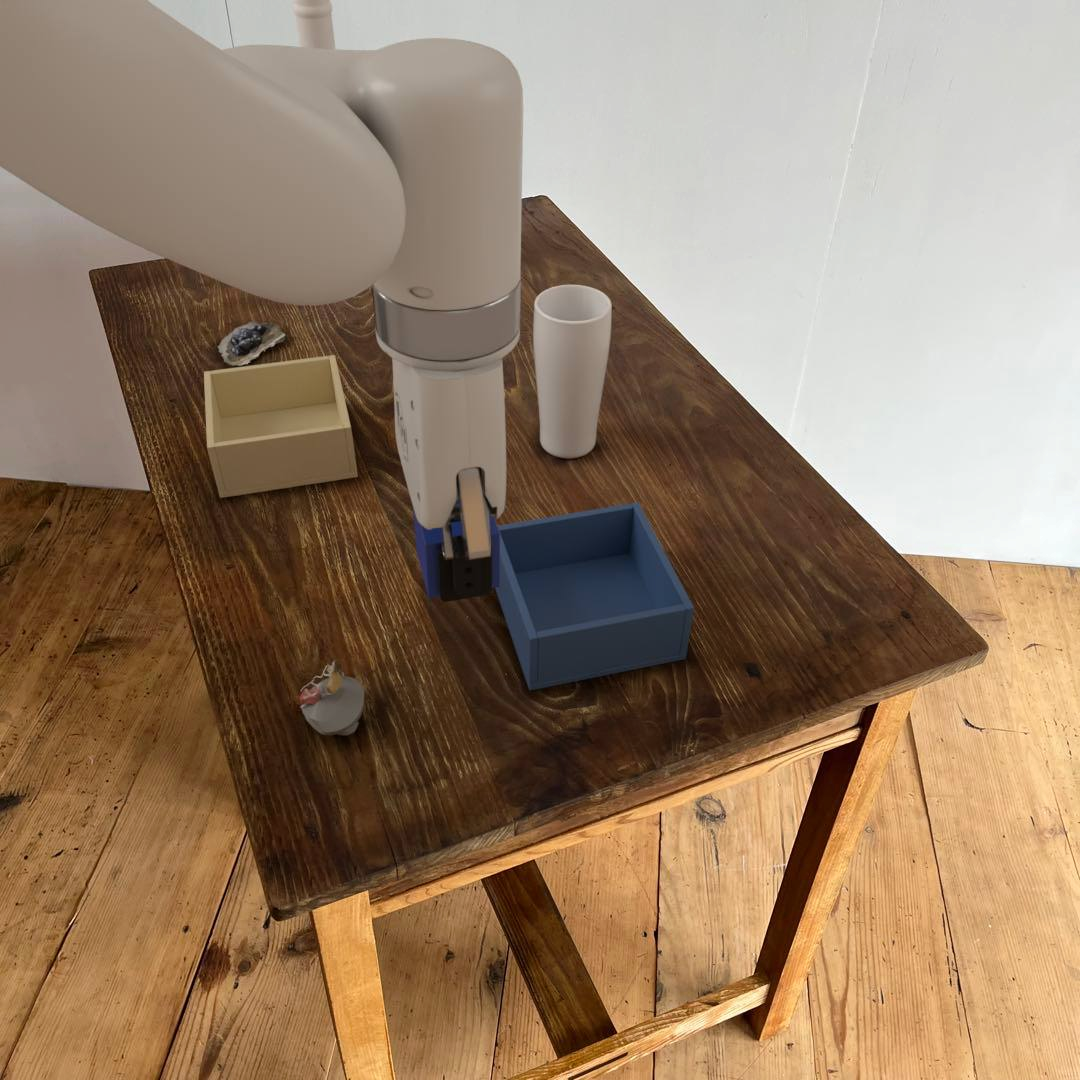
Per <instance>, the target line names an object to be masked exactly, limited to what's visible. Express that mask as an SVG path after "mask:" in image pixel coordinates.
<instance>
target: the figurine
mask: <svg viewBox="0 0 1080 1080" xmlns="http://www.w3.org/2000/svg"><path fill="white" fill-rule="evenodd" d="M342 663H343V662H342V660H340V659H338V658H336V659H333V662H332V663H331V665H330V664H326V665H325V667H324V669H323V672H322V674H321V675H320V676H319V675H315V676H314V677H313V678H312V680H311V681H310V682H308V683H307V684H306V685H304V686H303V687H302V688H301V689H300V692H301V694H300V696H299V703H300V704H301V706H300V708H301V711H302V714H303V716H304V718H305V720H306V721H307V723H308V724H309V725H310V726H311V727H312V728H313V729H314V730H316V731H317V732H318V733H319V734H320V735H323V736H336V735H338V736H349V735H352V734H353V733H355V732H356V730H357V729H358V727H359V724H360V722H359V720H360V718H361V717H362V714H363V711H364V704H365V703H364V702H365V691H364V687H363V685H362V683H361V682H359V680H358V679H356V678H355V677H352V676H347V675H345V674H344V672H342V671H343V668H344V667H343V666H342ZM326 671H327V673H326ZM323 676H324V677H328V678H325V679H323V680H321V681H319V682H318V683H315V679H316V678H319V679H321V678H323ZM309 685H313V686H312V688H311V689H308V686H309Z"/></svg>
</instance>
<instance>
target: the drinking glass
mask: <svg viewBox="0 0 1080 1080" xmlns="http://www.w3.org/2000/svg"><path fill="white" fill-rule="evenodd" d="M612 304H613V303H612V302H611V299H610V298H609V296H608V295H607V294H605V293H604V292H603V291H601V290H599V289H597V288H594V287H591V286H587V285H583V284H582V285H581V284H561V285H556V286H552V287H549V288H546V289H545V290H543V291H541V292H540V293H539V294H538V295H537V296H536V297H535V299H534V303H533V317H532V318H533V319H532V348H533V361H534V371H535V383H536V395H537V407H538V417H539V418H538V419H539V442H540V445H541V447H542V449H543V450H544V451H545V452H546V453H548V454H549V455H551V456H552V457H557V458H560V459H565V460H566V459H567V460H568V459H569V460H570V459H577V458H581V457H584V456H586V455H588V454H589V453H591V451H592V450H593V449H594V448H595V446H596V443H597V433H598V422H599V417H600V410H601V403H602V399H603V392H604V385H605V379H606V375H607V374H606V373H607V368H608V362H609V354H610V349H611V348H610V347H611V337H612V318H613V317H612V315H613V312H612V311H613V310H612V309H613V307H612V306H613V305H612Z"/></svg>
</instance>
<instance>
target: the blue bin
mask: <svg viewBox="0 0 1080 1080" xmlns="http://www.w3.org/2000/svg"><path fill="white" fill-rule="evenodd" d="M497 527H498V530H499V533H500V586H499V587H496V588H494V589H495V592H496V596H497V598H498V601H499V604H500V606H501V607H500V608H501V610H502V613H503V615H504V619H505V622H506V625H507V628H508V630H509V634H510V637H511V641H512V643H513V646H514V648H515V649H514V650H515V651H516V655H517V657H518V661H519V664H520V666H521V670H522V673H523V676H524V678H525V681H526V684H527V687H528V688H527V689H528V690H529V691H535V690H540V689H546V688H549V687H550V688H551V687H555V686H560V685H565V684H569V683H574V682H579V681H585V680H588V679H595V678H599V677H604V676H610V675H613V674H619V673H625V672H628V671H629V672H630V671H635V670H638V669H644V668H648V667H654V666H660V665H664V664H669V663H673V662H678V661H683V660H686V659H687V653H688V648H689V642H690V635H691V628H692V623H693V618H694V617H693V616H694V610H695V606H694V604H693V603H692V601H691V599H690V597H689V596H688V593H687V591H686V590H685V587H684V586H683V584H682V582H681V580H680V579H679V577H678V574H677V573H676V571H675V568H674V567H673V565H672V564H671V561H670V559H669V557H668V556H667V554H666V552H665V550H664V548H663V546H662V544H661V543H660V541H659V539H658V536H657V535H656V532H655V531H654V529H653V527H652V526H651V524H650V522H649V520H648V518H647V516H646V514H645V512H644V510H643V508H642V506H641V505H640V503H639V501H636V502H631V503H626V504H620V505H619V504H618V505H612V506H607V507H601V508H595V509H590V510H583V511H578V512H577V511H576V512H571V513H565V514H560V515H553V516H548V517H542V518H541V517H540V518H535V519H530V520H523V521H519V522H512V523H511V522H510V523H506V524H500V525H497Z"/></svg>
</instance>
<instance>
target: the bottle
mask: <svg viewBox="0 0 1080 1080" xmlns="http://www.w3.org/2000/svg"><path fill="white" fill-rule="evenodd" d="M292 11H293V13H294V15H295V21H296V28H297V35H298V42H299V44H298V45H299V47H306V48H319V49H336V42H335V41H336V40H335V34H334V33H335V32H334V23H333V15H332V12H333V4H332V2H331V1H330V0H293V5H292Z"/></svg>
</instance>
